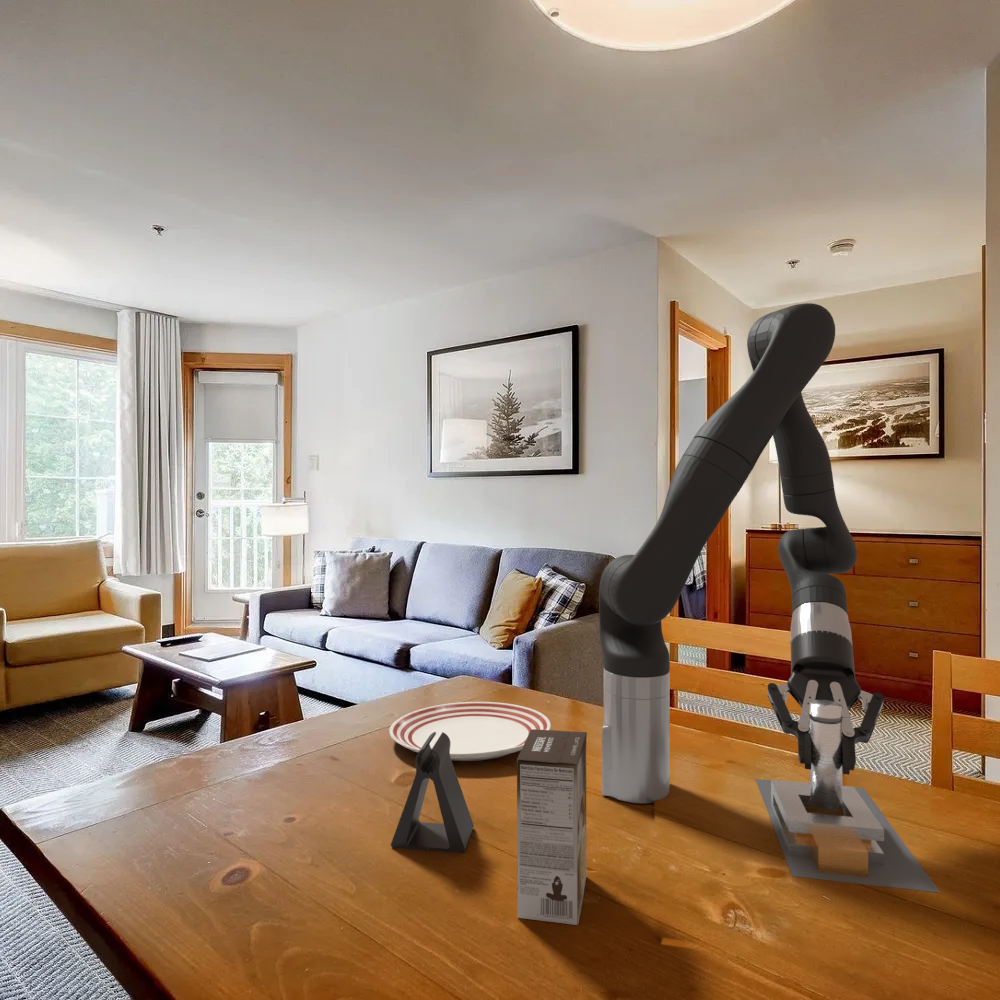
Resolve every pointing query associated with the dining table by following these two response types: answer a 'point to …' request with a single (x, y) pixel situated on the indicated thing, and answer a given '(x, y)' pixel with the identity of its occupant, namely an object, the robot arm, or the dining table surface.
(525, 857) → the coffee box
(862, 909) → the dining table surface
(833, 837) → the clevis
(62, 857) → the dining table surface
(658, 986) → the dining table surface
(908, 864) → the mat
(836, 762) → the pin
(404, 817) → the dark triangular stand
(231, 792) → the dining table surface
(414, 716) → the dinner plate
